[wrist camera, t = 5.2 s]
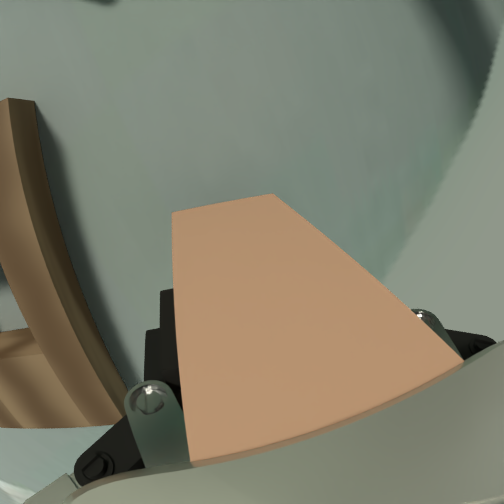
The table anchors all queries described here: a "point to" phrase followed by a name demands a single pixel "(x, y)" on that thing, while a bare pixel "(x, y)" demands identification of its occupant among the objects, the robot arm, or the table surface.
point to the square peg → (283, 329)
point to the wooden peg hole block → (45, 300)
